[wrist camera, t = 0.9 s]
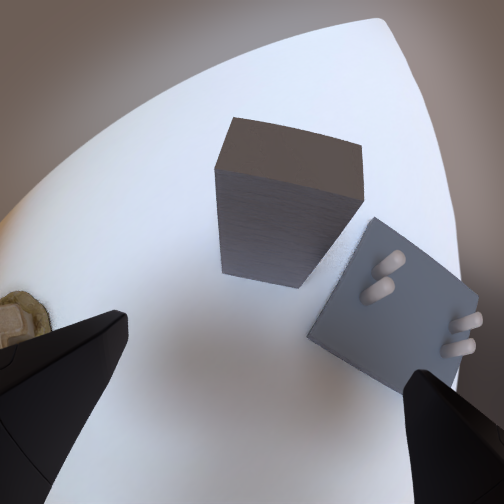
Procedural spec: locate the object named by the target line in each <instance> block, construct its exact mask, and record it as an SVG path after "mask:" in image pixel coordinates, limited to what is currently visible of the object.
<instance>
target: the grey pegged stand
mask: <svg viewBox="0 0 504 504" xmlns="http://www.w3.org/2000/svg"><path fill="white" fill-rule="evenodd" d="M478 297H479V296H478V295H477V294H475V293H474V292H473V291H472V290H471V289H470V288H468V287H467V286H466V285H465V284H464V283H463V282H461V281H460V280H459V279H458V278H457V277H455V276H454V275H453V274H452V273H450V272H449V271H448V270H447V269H445V268H444V267H443V266H442V265H440V264H439V263H438V262H437V261H435V260H434V259H433V258H431V257H430V256H429V255H427V254H426V253H425V252H423V251H422V250H421V249H419V248H418V247H417V246H415V245H414V244H413V243H411V242H410V241H409V240H407V239H406V238H404V237H403V236H402V235H400V234H399V233H397V232H396V231H395V230H393V229H392V228H390V227H389V226H387V225H386V224H385V223H383V222H382V221H380V220H379V219H377V218H376V217H374V218H373V219H372V220H371V221H370V223H369V224H368V226H367V228H366V230H365V233H364V235H363V237H362V239H361V241H360V243H359V245H358V246H357V248H356V250H355V252H354V254H353V256H352V258H351V260H350V262H349V264H348V266H347V268H346V269H345V271H344V273H343V275H342V277H341V279H340V281H339V282H338V284H337V286H336V288H335V290H334V291H333V293H332V295H331V297H330V298H329V300H328V302H327V304H326V305H325V307H324V309H323V311H322V312H321V314H320V316H319V317H318V319H317V321H316V322H315V324H314V326H313V327H312V329H311V331H310V332H309V334H308V336H307V338H308V339H310V340H311V341H313V342H315V343H316V344H318V345H319V346H321V347H323V348H324V349H326V350H328V351H329V352H331V353H332V354H334V355H336V356H337V357H339V358H341V359H342V360H344V361H345V362H347V363H349V364H350V365H352V366H354V367H355V368H357V369H359V370H360V371H362V372H364V373H366V374H367V375H369V376H371V377H372V378H374V379H376V380H377V381H379V382H381V383H383V384H384V385H386V386H388V387H389V388H391V389H393V390H395V391H396V392H398V393H400V394H402V395H403V389H404V386H405V385H406V383H407V382H408V380H409V379H410V377H411V376H412V374H413V372H414V371H415V370H417V369H426V370H428V371H430V372H431V373H432V374H434V375H435V376H436V377H437V378H439V379H440V380H441V381H442V382H444V383H445V384H446V385H448V386H449V387H450V388H451V386H452V383H453V381H454V378H455V376H456V373H457V370H458V367H459V364H460V362H461V359H462V356H463V355H466V354H471V353H473V352H474V351H475V348H476V344H475V341H474V339H472V338H471V339H468V337H469V333H470V330H471V329H473V328H475V327H479V326H481V325H482V322H483V318H482V315H481V313H480V312H476V313H475V311H476V307H477V302H478Z"/></svg>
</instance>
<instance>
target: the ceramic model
mask: <svg viewBox="0 0 504 504" xmlns="http://www.w3.org/2000/svg"><path fill="white" fill-rule="evenodd" d="M49 332H51V330H50V325H49V320H48V316H47V313H46V311H45V309H44V308H43V306H42V305H41V304H40V303H38V302H37V300H35V299H33V298H32V296H31V295H29V294H28V293H26V292H24V291H15V292H11V293H9V294H8V295H7V296H5V297H3V298H1V299H0V349H2V348H5V347H8V346H11V345H14V344H19V343H20V342H23V341H26V340H28V339H31V338H34V337H37V336H40V335H43V334H46V333H49Z"/></svg>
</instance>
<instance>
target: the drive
mask: <svg viewBox="0 0 504 504" xmlns="http://www.w3.org/2000/svg"><path fill="white" fill-rule="evenodd" d="M214 171H215V186H216V201H217V215H218V228H219V241H220V253H221V264H222V273H223V274H228V275H233V276H238V277H242V278H247V279H252V280H257V281H262V282H267V283H272V284H277V285H282V286H287V287H292V288H298V289H299V287H300V286H301V285H302V284H303V282H304V281H305V280H306V279H307V277H308V276H309V275H310V273H311V272H312V271H313V270H314V268H315V267H316V266H317V264H318V263H319V262H320V260H321V259H322V258H323V257H324V255H325V254H326V253H327V251H328V250H329V249H330V247H331V246H332V245H333V243H334V242H335V241H336V239H337V238H338V237H339V235H340V234H341V232H342V231H343V230H344V228H345V227H346V226H347V224H348V223H349V222H350V220H351V219H352V217H353V216H354V215H355V213H356V212H357V210H358V209H359V208H360V206H361V205H362V203H363V202H364V180H363V160H362V146H361V145H358V144H355V143H351V142H348V141H344V140H340V139H337V138H333V137H329V136H325V135H321V134H317V133H313V132H309V131H305V130H300V129H296V128H291V127H286V126H282V125H277V124H271V123H266V122H261V121H255V120H249V119H243V118H236V117H233V119H232V122H231V124H230V127H229V130H228V132H227V135H226V138H225V140H224V143H223V146H222V149H221V151H220V154H219V157H218V160H217V163H216V165H215V168H214Z"/></svg>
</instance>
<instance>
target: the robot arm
mask: <svg viewBox="0 0 504 504" xmlns="http://www.w3.org/2000/svg"><path fill="white" fill-rule="evenodd" d="M128 336H129V334H128V316H127V314H126V313H124V312H121V311H118V310H112V311H109V312H106V313H103V314H100V315H97V316H95V317H92V318H89V319H86V320H83V321H80V322H77V323H75V324H72V325H69V326H66V327H63V328H60V329H57V330H55V331H52V332H49V333H46V334H43V335H40V336H37V337H34V338H31V339H28V340H26V341H23V342H20V343H19V344H14V345H11V346H8V347H5V348H2V349H0V504H44V502H45V500H46V498H47V496H48V494H49V492H50V490H51V488H52V485H53V483H54V481H55V479H56V477H57V475H58V473H59V471H60V469H61V467H62V466H63V464H64V462H65V460H66V458H67V456H68V454H69V452H70V450H71V448H72V447H73V445H74V443H75V441H76V439H77V437H78V436H79V434H80V432H81V430H82V428H83V427H84V425H85V423H86V421H87V419H88V418H89V416H90V414H91V412H92V411H93V409H94V407H95V405H96V404H97V402H98V400H99V399H100V397H101V395H102V393H103V392H104V390H105V388H106V387H107V385H108V383H109V381H110V379H111V377H112V375H113V373H114V370H115V368H116V366H117V364H118V361H119V359H120V357H121V355H122V353H123V350H124V348H125V346H126V344H127V341H128ZM403 403H404V414H405V428H406V436H407V443H408V449H409V456H410V464H411V472H412V481H413V491H414V504H504V430H503V429H502V428H500V427H499V426H498V425H496V424H495V423H494V422H493V421H491V420H490V419H489V418H488V417H486V416H485V415H484V414H483V413H481V412H480V411H479V410H478V409H477V408H475V407H474V406H473V405H472V404H470V403H469V402H468V401H466V400H465V399H464V398H463V397H461V396H460V395H459V394H458V393H456V392H455V391H454V390H453V389H451V388H450V387H449V386H448V385H446V384H445V383H444V382H442V381H441V380H440V379H439V378H437V377H436V376H435V375H434V374H432V373H431V372H430V371H428V370H426V369H417V370H415V371H414V372H413V374H412V376H411V377H410V379H409V380H408V382H407V383H406V385H405V386H404V389H403Z"/></svg>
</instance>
